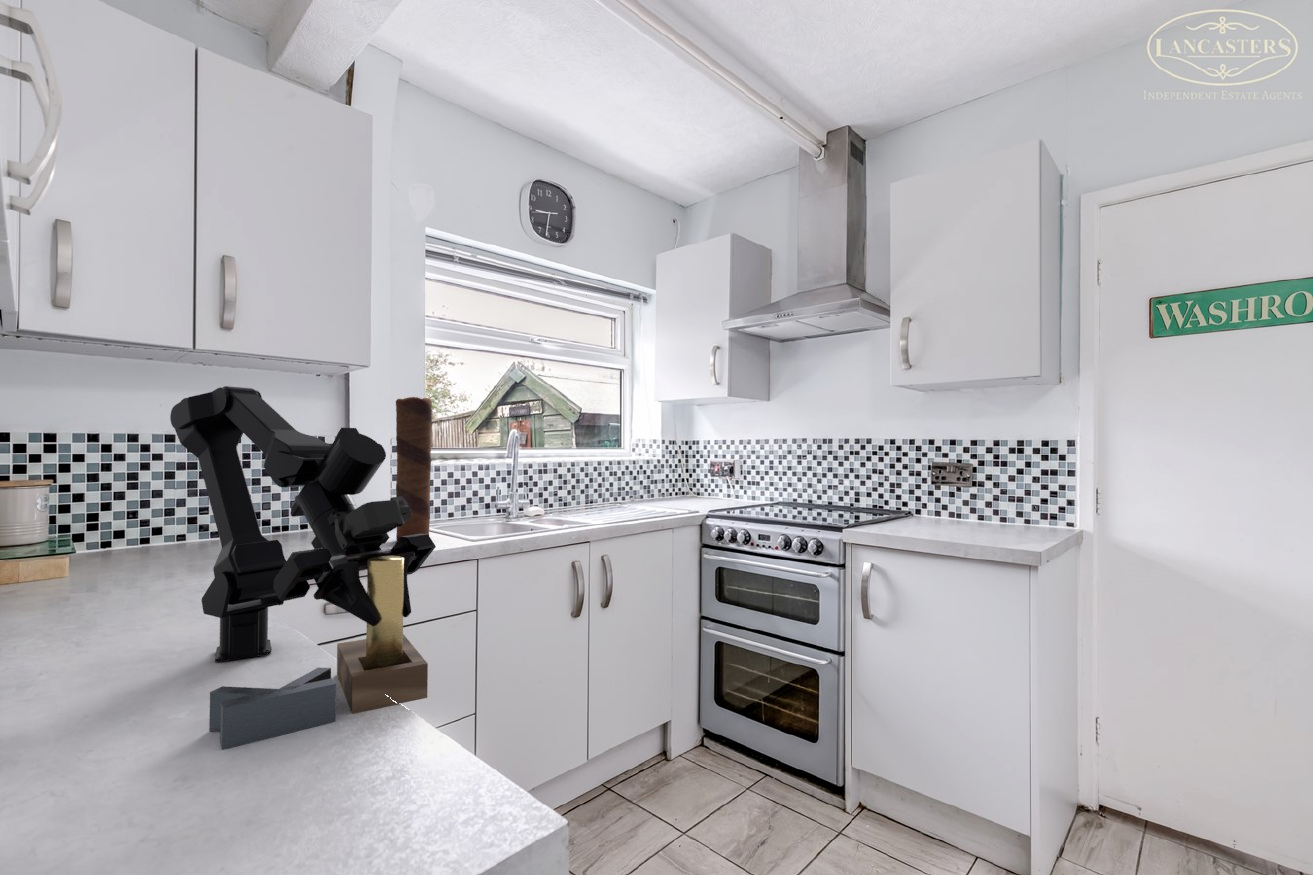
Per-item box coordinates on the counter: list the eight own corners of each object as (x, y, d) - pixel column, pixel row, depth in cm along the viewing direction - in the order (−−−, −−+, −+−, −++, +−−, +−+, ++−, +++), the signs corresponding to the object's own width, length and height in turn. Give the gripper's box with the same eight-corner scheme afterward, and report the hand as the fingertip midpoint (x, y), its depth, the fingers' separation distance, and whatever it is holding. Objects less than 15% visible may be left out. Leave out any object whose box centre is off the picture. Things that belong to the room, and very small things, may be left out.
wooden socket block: (336, 674, 80) (337, 643, 80) (402, 663, 85) (402, 633, 85) (352, 713, 69) (352, 676, 69) (427, 697, 73) (427, 663, 73)
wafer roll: (416, 544, 189) (418, 396, 190) (388, 542, 192) (389, 396, 193) (438, 539, 199) (439, 398, 200) (410, 537, 202) (412, 399, 203)
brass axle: (363, 674, 75) (365, 557, 75) (398, 668, 77) (400, 554, 77) (368, 685, 71) (370, 562, 72) (405, 678, 74) (407, 559, 74)
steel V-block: (208, 727, 65) (209, 688, 65) (328, 699, 72) (328, 665, 72) (213, 751, 60) (214, 709, 60) (342, 719, 67) (342, 682, 67)
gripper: (290, 479, 68) (353, 592, 63) (427, 473, 85) (486, 563, 79) (248, 545, 72) (304, 657, 66) (387, 527, 88) (441, 616, 83)
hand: (392, 619), depth 74 cm, fingers closed on brass axle, 4 cm apart
